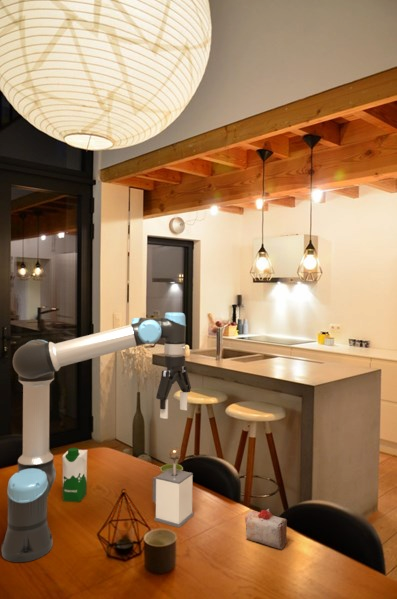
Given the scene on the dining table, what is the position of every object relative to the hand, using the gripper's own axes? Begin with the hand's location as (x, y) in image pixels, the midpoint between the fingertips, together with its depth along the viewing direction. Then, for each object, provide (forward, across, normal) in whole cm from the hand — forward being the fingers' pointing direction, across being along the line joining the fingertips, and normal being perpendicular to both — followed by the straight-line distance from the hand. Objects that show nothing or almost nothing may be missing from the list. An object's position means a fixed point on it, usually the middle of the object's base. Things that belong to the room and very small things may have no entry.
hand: (174, 413), depth 166 cm
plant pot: (+38, +21, +14) cm, 46 cm away
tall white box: (+38, 0, +2) cm, 38 cm away
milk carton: (+38, -5, +43) cm, 57 cm away
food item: (+38, +2, -35) cm, 51 cm away
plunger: (+33, 0, 0) cm, 33 cm away
